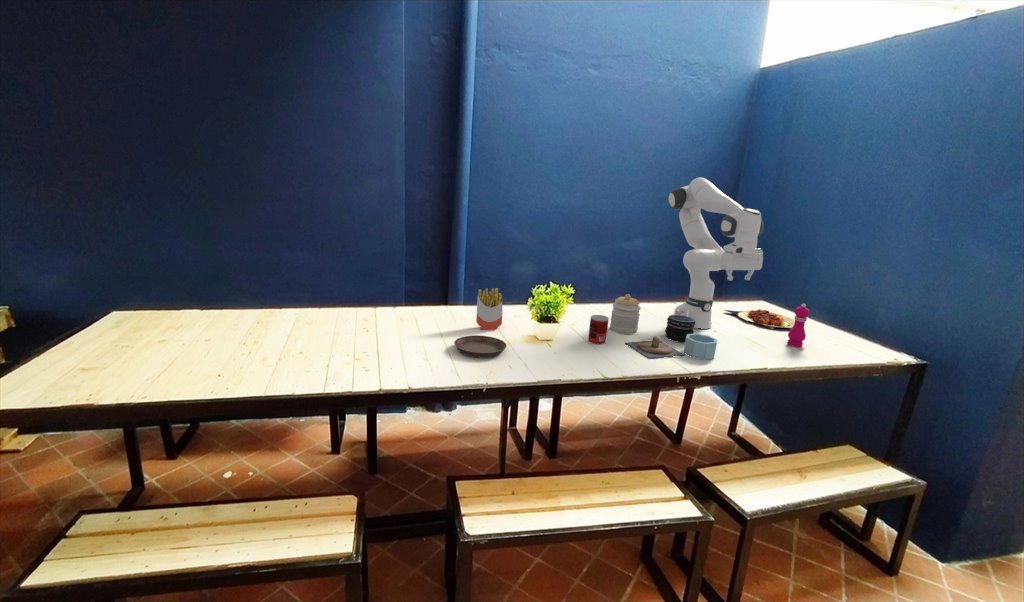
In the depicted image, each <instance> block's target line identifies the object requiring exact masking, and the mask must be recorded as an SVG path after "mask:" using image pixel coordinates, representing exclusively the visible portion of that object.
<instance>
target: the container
mask: <svg viewBox="0 0 1024 602" xmlns="http://www.w3.org/2000/svg"><path fill="white" fill-rule="evenodd" d="M669 315H670V316H669ZM669 315H668V316H667V319H666V320H667V322H666V327H665V330H664V333H665V337H667V338H668V340H669V339H671V340H670V341H672V340H673V341H672V342H676V341H678V342H677V343H682V342H683V343H685V340H686V336H687V334H695V333H694V329H695V328H694V325H695V324H696V322H695V320H694V319H692V318H690V317H687V316H681V315H673V314H669ZM667 338H666V339H667Z"/></svg>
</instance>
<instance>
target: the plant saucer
mask: <svg viewBox="0 0 1024 602" xmlns="http://www.w3.org/2000/svg"><path fill="white" fill-rule="evenodd" d="M453 343H454V344H453V345H454V346H455V348H456V349H457V350H458V352H460V353H461V354H463V355H465V356H467V357H471V358H476V359H477V358H478V359H487V358H493V357H496V356H498V355H501V354H502V353H503V352H504V350H505V349H506V348H507V345H508V344H507V343H506V342H505V341H503V340H502V339H500V338H496V337H493V336H488V335H477V334H476V335H465V336H460V337H458V338H456V339H455V340H454V342H453Z"/></svg>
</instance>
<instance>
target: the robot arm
mask: <svg viewBox="0 0 1024 602" xmlns="http://www.w3.org/2000/svg"><path fill="white" fill-rule="evenodd" d="M668 203H669V206H670V207H671V209H673V210H680V211H679V213H678V217H679V223H680V227H681V229H682V231H683V232H682V233H683V235H684V237H685V239H686V242H687V243H688V245H689V246H690V247H693V248H692V249H690V250H688V251H687V250H686V252H685V253H684V255H683V258H682V263H683V265H684V267H685V269H687V271H688V274H689V275H690V288H689V295H688V296H687V295H685V296H684V297H685V298H686V300H685V302H683V303H682V304H680V305H678V306H676V307H675V309H674V312H673V314H672V315H681V316H687V317H690V318H692V319H694V320H695V322H696V324H695V325H694V329H698V328H701V329H700V330H707V329H708V328H709V329H711V328H712V325H711V324H712V313H713V312H712V307H713V305H714V300H713V298H714V291H715V287H716V286H715V283H714V281H713V280H712V279H711V277H710V272H716V271H717V272H719V271H721V270H724V271H725V272H726V275H727V278H726V279H727V281H733V280H734V276H733V275H732V274H733V271H747V273H746V275H744V277H743V278H744V280H745V281H750V280H751V277H752V275H753V274H754V272H755V271H760V270H762V268H763V263H764V261H763V260H764V250H763V249H762V248H757V247H758V237H759V236H760V235H761V234H762V233H763V231H764V227H765V225H764V224H765V223H764V221H763V219H762V213H761V212H760V211H759V210H758V209H754V208H753V209H752V208H745V207H743V206H742V205H741V204H739V203H738V202H737V201H735V200H733V198H731V197H730V196H729V195H728V196H727V195H726V194H725V193H724V192H722V191H721V190H720V189H719V188H718V187H716V185H714V184H713V182H711V181H710V180H709V179H707V178H705V177H695V178H694V179H692V181H690V183H689V184H688V185H685V186H682V187H676V188H674V189H671V190H670V192H669V193H668ZM701 210H704V211H706V212H709V213H710V212H711V213H715V214H716V213H718V214H723V215H726V216H724V217H723V218H722V219H721V222H720V228H719V229H720V232H721V234H722V235H723V236H724V237H727V238H734V242H731V243H729V244H726V245H724V246H723V248H722V246H720V245H719V243H718V242H717V241H716V240H715V239H714V238H713V236H712V235H711V233H710V231H709V229H708V226H707V224H706V221H705V220H704V217H703V215H702V213H701ZM670 315H671V314H669V315H668V317H669V316H670Z"/></svg>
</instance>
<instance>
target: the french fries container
mask: <svg viewBox="0 0 1024 602" xmlns="http://www.w3.org/2000/svg"><path fill="white" fill-rule="evenodd" d="M476 303H477V304H476V317H475V318H476V321H475V323H476V324H477V325H478V327H480V328H481V329H483V331H489V330H492V331H495V330H497V329H499V328H500V326H502V325H503V324H502V323H503V295H502V294H501V293H499V288H498V287H497V288H492V289H491V291H488V288H485V290H483V291H482V289H478V295H477V302H476Z"/></svg>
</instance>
